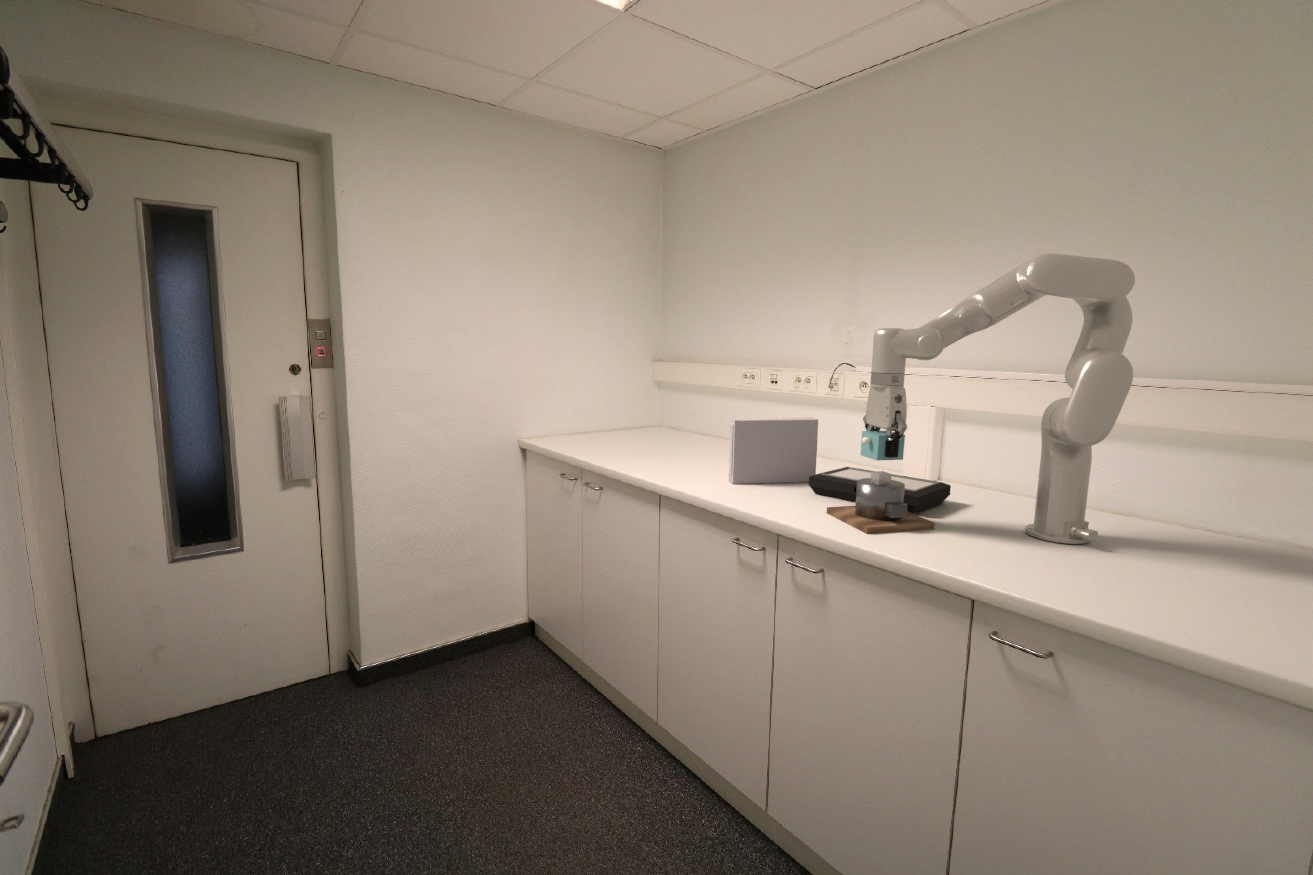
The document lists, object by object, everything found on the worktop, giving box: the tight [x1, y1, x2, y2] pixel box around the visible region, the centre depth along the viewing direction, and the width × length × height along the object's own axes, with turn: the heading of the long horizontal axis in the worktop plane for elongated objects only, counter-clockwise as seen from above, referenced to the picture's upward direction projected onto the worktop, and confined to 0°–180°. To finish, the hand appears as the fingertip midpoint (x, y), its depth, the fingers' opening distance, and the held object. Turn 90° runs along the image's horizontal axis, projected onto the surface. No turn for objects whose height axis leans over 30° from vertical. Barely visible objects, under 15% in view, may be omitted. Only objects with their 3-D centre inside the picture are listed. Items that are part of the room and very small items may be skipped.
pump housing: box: [860, 430, 906, 461], centre depth 149 cm, size 7×9×6 cm
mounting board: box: [826, 505, 935, 535], centre depth 152 cm, size 18×18×2 cm
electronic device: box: [808, 466, 952, 515], centre depth 173 cm, size 32×6×20 cm
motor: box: [854, 470, 908, 521], centre depth 150 cm, size 14×11×10 cm
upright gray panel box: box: [728, 417, 819, 485], centre depth 194 cm, size 6×27×20 cm, turn 100°
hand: (881, 453), depth 149 cm, fingers closed on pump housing, 7 cm apart
